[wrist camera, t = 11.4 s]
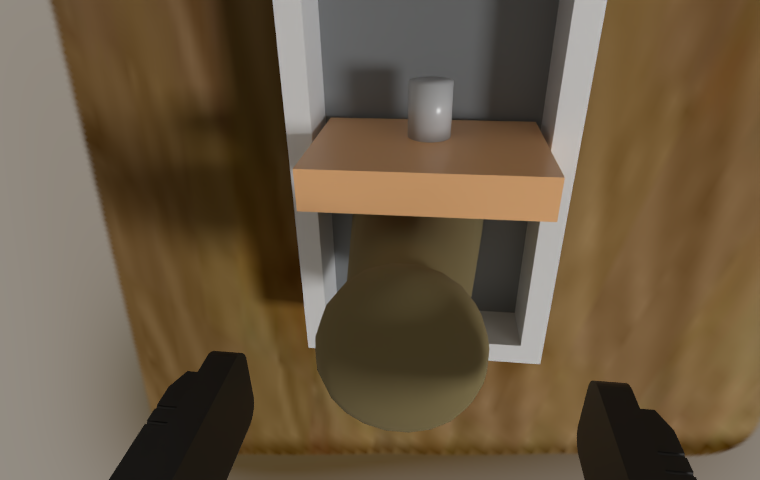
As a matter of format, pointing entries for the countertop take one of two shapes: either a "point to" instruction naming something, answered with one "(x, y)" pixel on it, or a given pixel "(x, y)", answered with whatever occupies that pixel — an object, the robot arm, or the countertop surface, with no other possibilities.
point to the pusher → (430, 165)
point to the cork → (405, 323)
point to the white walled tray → (470, 102)
